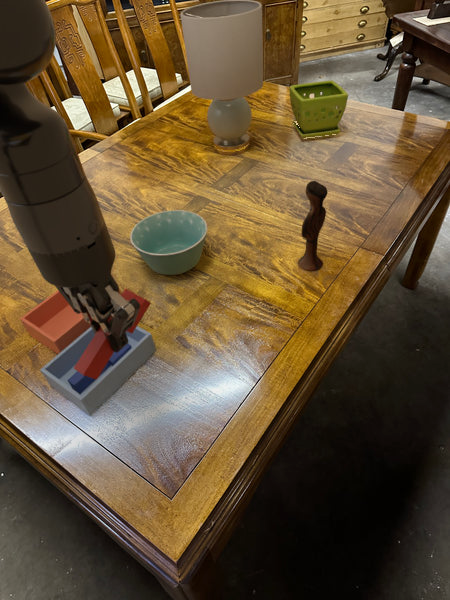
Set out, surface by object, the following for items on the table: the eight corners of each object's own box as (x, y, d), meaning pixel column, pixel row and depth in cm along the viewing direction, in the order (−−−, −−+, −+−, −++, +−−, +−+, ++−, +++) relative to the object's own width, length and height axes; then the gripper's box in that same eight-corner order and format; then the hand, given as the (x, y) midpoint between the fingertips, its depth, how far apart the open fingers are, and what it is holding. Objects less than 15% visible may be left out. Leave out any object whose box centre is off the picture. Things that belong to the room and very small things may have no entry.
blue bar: (83, 397, 67) (78, 387, 65) (69, 386, 68) (63, 377, 67) (133, 350, 73) (129, 340, 71) (118, 341, 74) (114, 332, 73)
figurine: (310, 249, 89) (316, 170, 76) (331, 257, 86) (340, 177, 74) (291, 267, 85) (293, 188, 73) (312, 276, 83) (319, 196, 70)
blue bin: (90, 416, 65) (81, 400, 61) (50, 385, 69) (39, 369, 66) (156, 350, 73) (151, 333, 70) (116, 327, 78) (109, 310, 74)
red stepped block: (101, 383, 50) (88, 378, 48) (82, 369, 52) (68, 364, 49) (151, 303, 52) (140, 295, 49) (131, 292, 53) (119, 284, 51)
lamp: (273, 154, 121) (272, 9, 96) (206, 167, 119) (187, 22, 94) (254, 128, 135) (249, -5, 111) (193, 139, 133) (174, 7, 109)
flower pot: (344, 138, 124) (349, 93, 116) (298, 145, 124) (300, 100, 115) (329, 120, 134) (333, 78, 126) (287, 127, 134) (288, 84, 125)
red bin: (63, 358, 73) (54, 341, 70) (29, 334, 78) (19, 318, 75) (125, 305, 82) (119, 288, 78) (91, 287, 86) (84, 270, 83)
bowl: (165, 233, 98) (158, 203, 92) (224, 248, 92) (221, 217, 86) (124, 275, 88) (113, 243, 82) (187, 295, 82) (180, 262, 76)
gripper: (-11, 225, 41) (56, 339, 53) (78, 274, 34) (130, 391, 46) (52, 190, 45) (101, 303, 57) (142, 227, 38) (175, 346, 50)
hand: (114, 342), depth 52 cm, fingers closed on red stepped block, 2 cm apart
